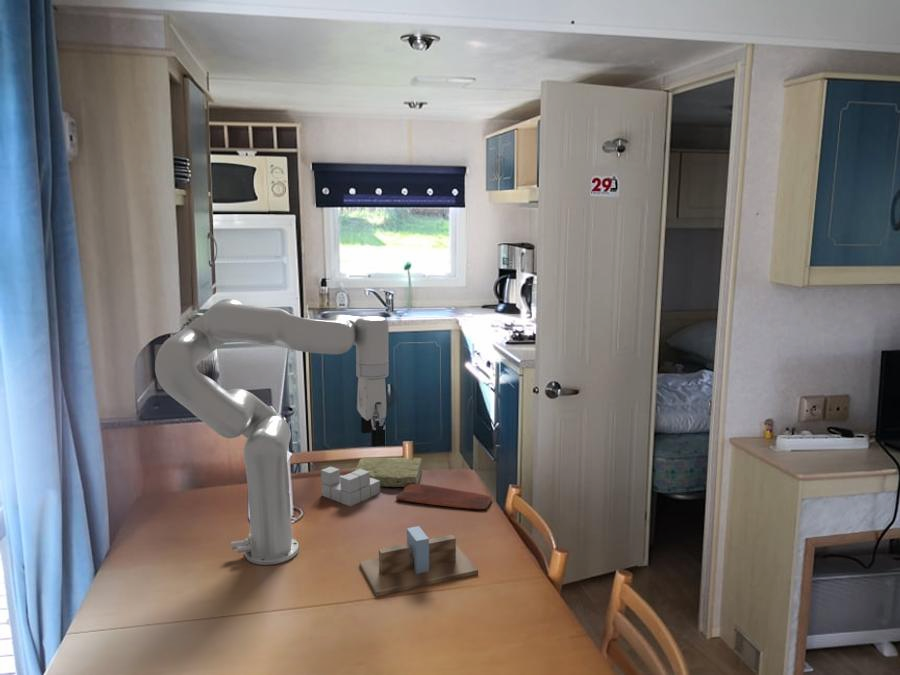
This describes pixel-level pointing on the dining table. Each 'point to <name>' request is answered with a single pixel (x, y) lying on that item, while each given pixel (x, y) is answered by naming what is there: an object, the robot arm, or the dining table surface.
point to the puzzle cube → (348, 486)
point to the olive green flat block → (392, 470)
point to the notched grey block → (418, 548)
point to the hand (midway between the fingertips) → (372, 438)
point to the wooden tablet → (443, 496)
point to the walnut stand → (398, 566)
